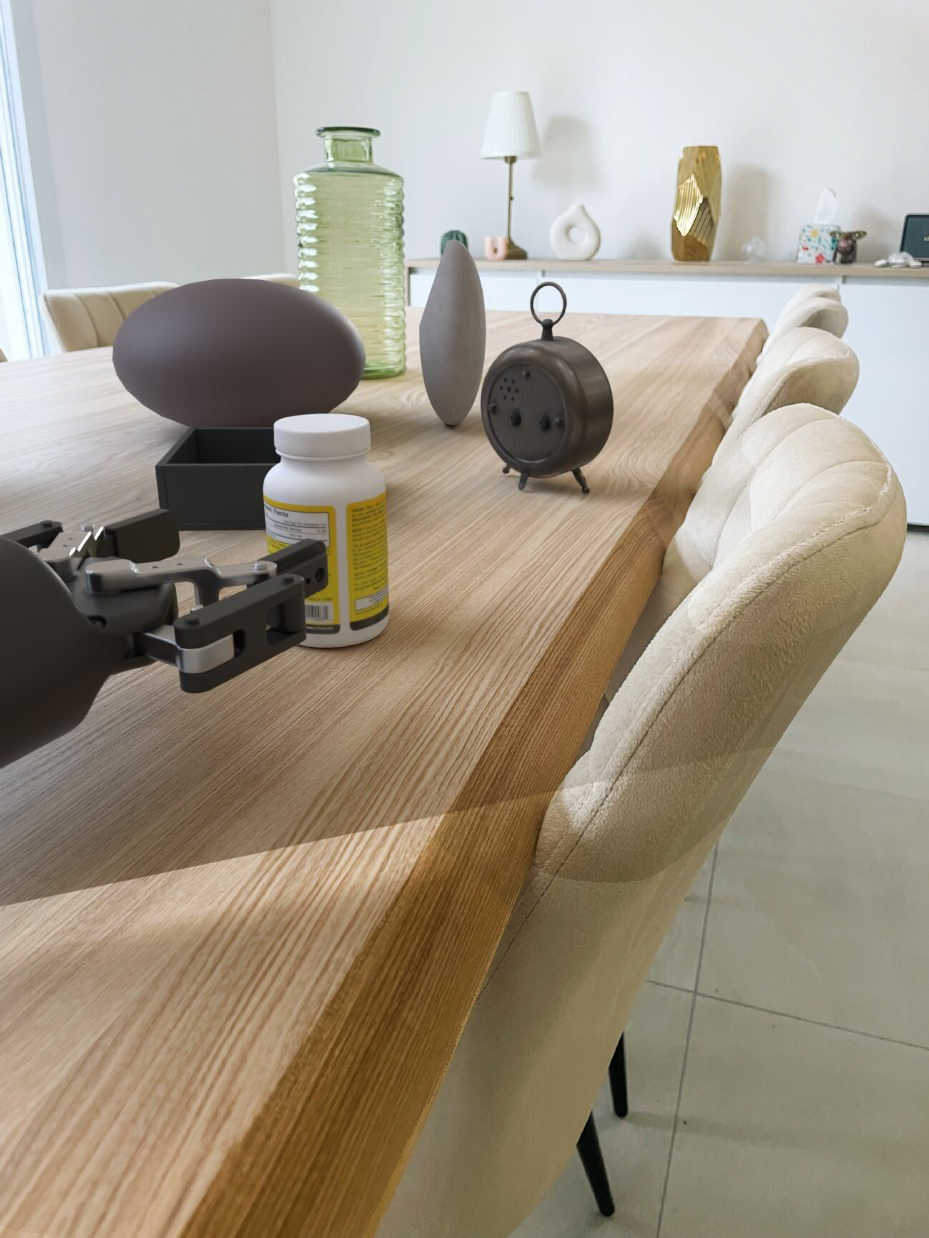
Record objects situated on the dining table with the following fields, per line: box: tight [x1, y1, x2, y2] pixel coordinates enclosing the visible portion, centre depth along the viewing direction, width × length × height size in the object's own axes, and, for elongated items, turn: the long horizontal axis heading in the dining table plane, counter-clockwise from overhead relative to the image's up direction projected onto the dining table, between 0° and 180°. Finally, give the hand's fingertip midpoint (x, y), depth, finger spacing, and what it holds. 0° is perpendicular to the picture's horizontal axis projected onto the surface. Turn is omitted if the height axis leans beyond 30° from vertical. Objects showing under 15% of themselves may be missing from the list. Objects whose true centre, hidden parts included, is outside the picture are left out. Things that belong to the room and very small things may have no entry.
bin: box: [154, 427, 281, 531], centre depth 71 cm, size 13×13×5 cm
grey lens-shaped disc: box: [418, 239, 487, 426], centre depth 99 cm, size 18×7×19 cm, turn 1°
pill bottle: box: [263, 413, 390, 649], centre depth 48 cm, size 6×6×11 cm
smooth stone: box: [111, 277, 367, 428], centre depth 94 cm, size 25×25×15 cm
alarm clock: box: [479, 281, 615, 495], centre depth 75 cm, size 11×5×16 cm, turn 48°
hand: (243, 544), depth 42 cm, fingers open, 8 cm apart
